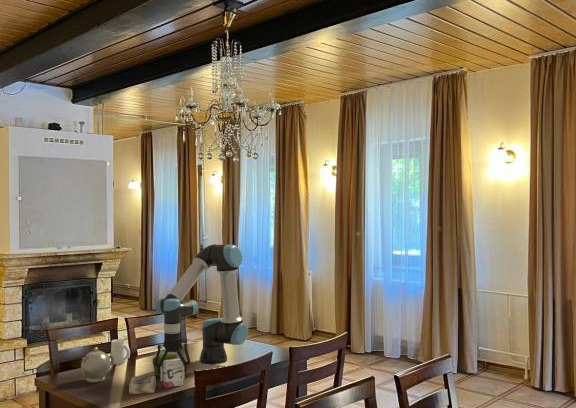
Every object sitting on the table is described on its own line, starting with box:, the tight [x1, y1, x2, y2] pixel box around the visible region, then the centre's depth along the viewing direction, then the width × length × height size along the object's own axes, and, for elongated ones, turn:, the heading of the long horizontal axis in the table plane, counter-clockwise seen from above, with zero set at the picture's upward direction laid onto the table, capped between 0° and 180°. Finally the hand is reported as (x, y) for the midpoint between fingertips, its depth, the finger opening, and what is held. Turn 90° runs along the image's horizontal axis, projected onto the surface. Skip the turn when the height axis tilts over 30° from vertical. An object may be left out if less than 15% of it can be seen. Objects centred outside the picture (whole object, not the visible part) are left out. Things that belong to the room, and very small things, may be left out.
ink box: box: [162, 357, 184, 389], centre depth 271 cm, size 8×5×12 cm, turn 123°
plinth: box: [128, 375, 157, 395], centre depth 265 cm, size 11×13×4 cm
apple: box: [152, 353, 178, 378], centre depth 287 cm, size 12×12×11 cm
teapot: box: [80, 346, 115, 384], centre depth 281 cm, size 18×14×16 cm
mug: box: [110, 338, 131, 365], centre depth 315 cm, size 8×12×12 cm
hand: (172, 379), depth 270 cm, fingers closed on ink box, 9 cm apart
